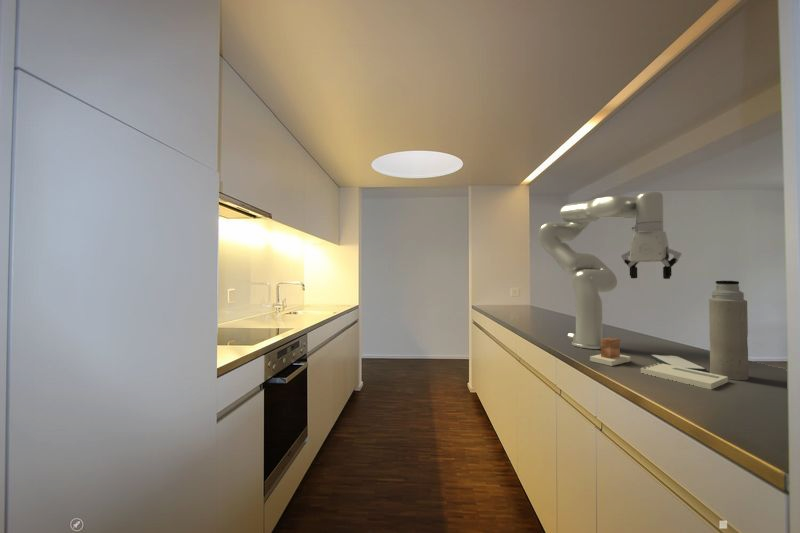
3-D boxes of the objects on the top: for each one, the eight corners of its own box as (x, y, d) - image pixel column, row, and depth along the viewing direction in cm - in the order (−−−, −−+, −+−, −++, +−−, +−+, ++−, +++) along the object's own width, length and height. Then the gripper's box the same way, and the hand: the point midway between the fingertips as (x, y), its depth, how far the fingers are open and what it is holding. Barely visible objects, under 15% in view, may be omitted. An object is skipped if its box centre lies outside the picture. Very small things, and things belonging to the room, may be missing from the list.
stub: (589, 360, 112) (589, 338, 112) (609, 356, 118) (609, 335, 118) (611, 365, 106) (611, 342, 106) (630, 361, 112) (630, 339, 112)
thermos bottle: (742, 374, 98) (741, 280, 99) (753, 382, 91) (751, 281, 92) (706, 370, 102) (705, 280, 103) (714, 377, 95) (713, 280, 96)
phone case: (709, 374, 100) (677, 360, 116) (709, 369, 100) (676, 355, 116) (675, 372, 102) (648, 358, 118) (675, 367, 102) (648, 354, 118)
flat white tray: (640, 373, 99) (640, 367, 99) (659, 367, 105) (659, 362, 105) (710, 389, 85) (710, 383, 85) (727, 382, 91) (727, 376, 91)
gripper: (616, 230, 119) (616, 278, 118) (675, 224, 104) (675, 279, 103) (627, 232, 122) (627, 278, 122) (685, 226, 108) (686, 279, 107)
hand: (649, 278), depth 113 cm, fingers open, 9 cm apart
